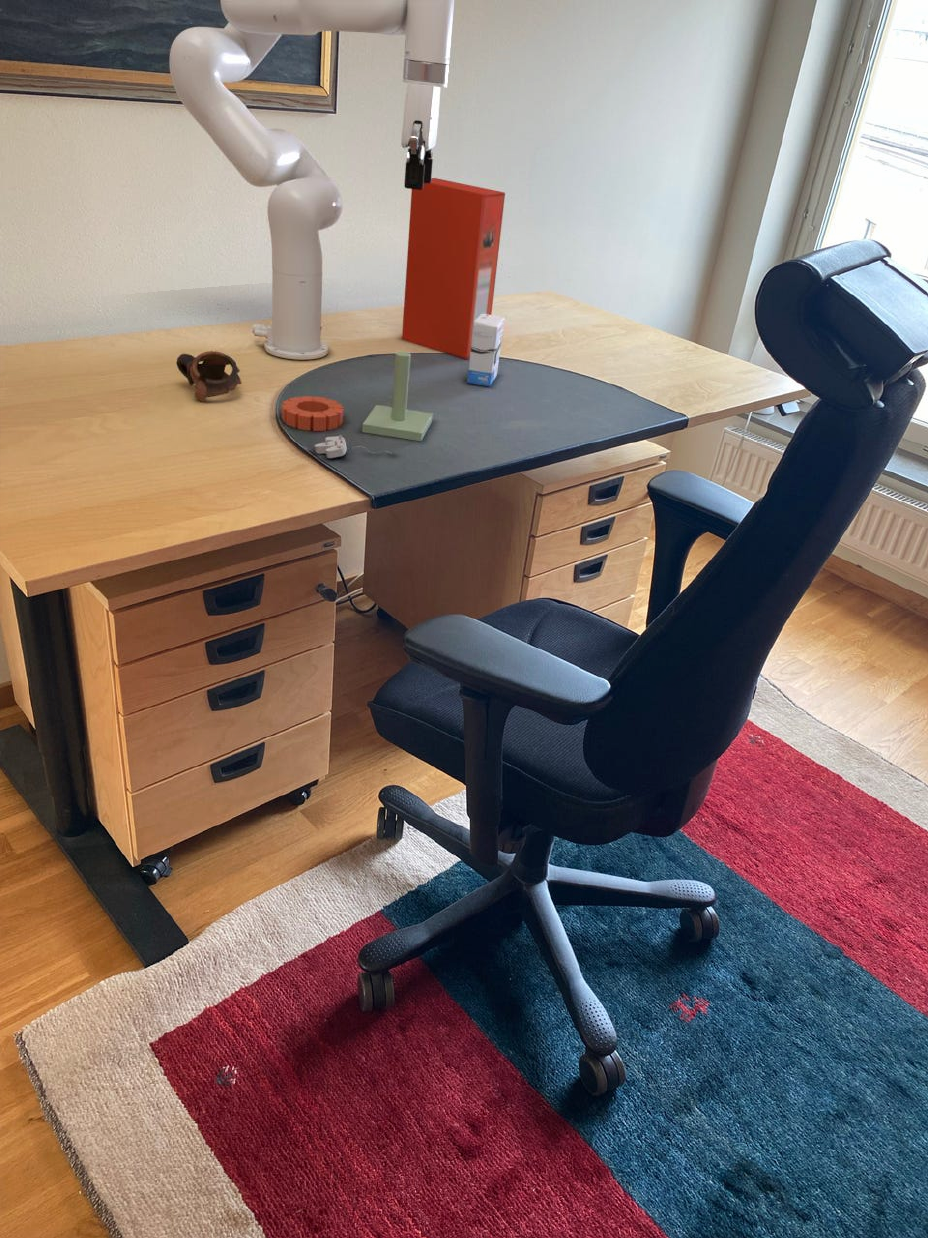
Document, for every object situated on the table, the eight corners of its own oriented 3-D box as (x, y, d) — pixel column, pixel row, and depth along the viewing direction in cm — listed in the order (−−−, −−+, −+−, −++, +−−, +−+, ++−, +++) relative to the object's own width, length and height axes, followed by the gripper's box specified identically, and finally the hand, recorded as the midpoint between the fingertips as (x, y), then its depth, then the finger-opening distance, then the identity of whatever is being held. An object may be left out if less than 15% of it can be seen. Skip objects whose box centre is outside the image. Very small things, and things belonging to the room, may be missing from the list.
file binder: (465, 359, 197) (483, 194, 180) (401, 339, 205) (412, 179, 188) (486, 353, 203) (506, 192, 186) (423, 333, 211) (436, 177, 194)
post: (361, 432, 156) (365, 357, 149) (375, 412, 164) (380, 341, 158) (421, 441, 155) (427, 366, 149) (432, 421, 164) (438, 349, 157)
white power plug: (310, 447, 148) (310, 431, 146) (378, 442, 153) (379, 427, 151) (322, 461, 144) (322, 445, 142) (392, 456, 149) (393, 440, 147)
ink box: (490, 387, 183) (498, 326, 177) (465, 383, 184) (472, 322, 177) (497, 375, 190) (505, 316, 184) (473, 371, 191) (480, 312, 185)
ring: (274, 425, 154) (274, 411, 153) (292, 406, 163) (292, 392, 162) (333, 434, 154) (334, 420, 152) (349, 414, 162) (349, 401, 161)
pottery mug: (250, 390, 168) (251, 358, 161) (225, 427, 164) (225, 396, 156) (188, 363, 168) (186, 329, 161) (161, 399, 163) (158, 366, 156)
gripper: (411, 71, 166) (405, 177, 175) (394, 72, 151) (388, 188, 160) (454, 76, 165) (445, 182, 174) (441, 78, 151) (431, 194, 160)
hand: (417, 185), depth 167 cm, fingers open, 9 cm apart
